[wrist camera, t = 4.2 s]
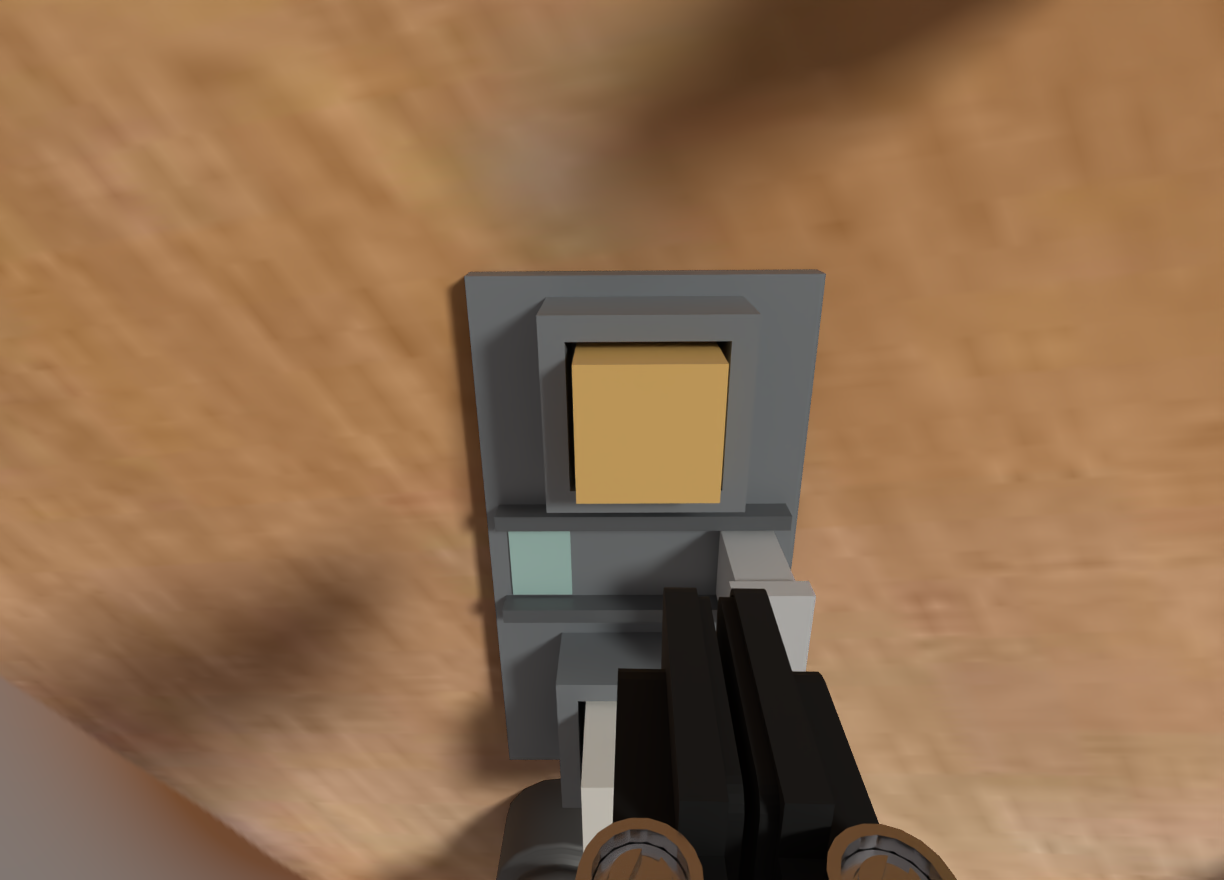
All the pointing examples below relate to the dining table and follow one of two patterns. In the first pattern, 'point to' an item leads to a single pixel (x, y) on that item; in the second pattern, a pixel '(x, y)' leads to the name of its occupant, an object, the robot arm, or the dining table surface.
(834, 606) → the dining table surface
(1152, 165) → the dining table surface
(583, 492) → the tan yellow cube
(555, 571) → the switch panel
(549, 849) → the candle holder
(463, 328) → the dining table surface
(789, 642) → the slider knob
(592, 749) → the white button
